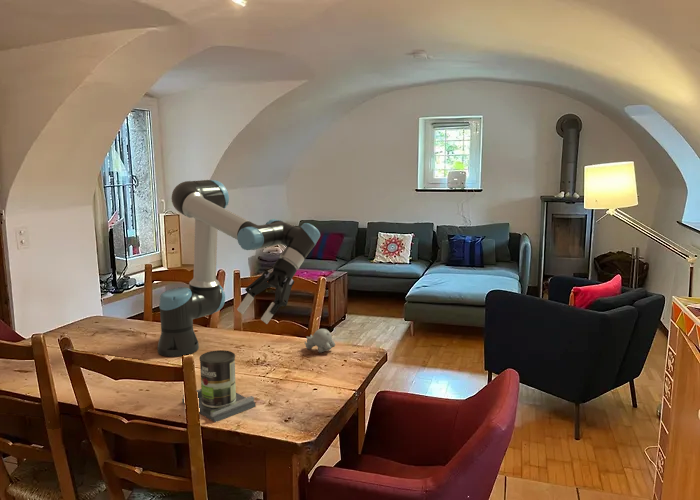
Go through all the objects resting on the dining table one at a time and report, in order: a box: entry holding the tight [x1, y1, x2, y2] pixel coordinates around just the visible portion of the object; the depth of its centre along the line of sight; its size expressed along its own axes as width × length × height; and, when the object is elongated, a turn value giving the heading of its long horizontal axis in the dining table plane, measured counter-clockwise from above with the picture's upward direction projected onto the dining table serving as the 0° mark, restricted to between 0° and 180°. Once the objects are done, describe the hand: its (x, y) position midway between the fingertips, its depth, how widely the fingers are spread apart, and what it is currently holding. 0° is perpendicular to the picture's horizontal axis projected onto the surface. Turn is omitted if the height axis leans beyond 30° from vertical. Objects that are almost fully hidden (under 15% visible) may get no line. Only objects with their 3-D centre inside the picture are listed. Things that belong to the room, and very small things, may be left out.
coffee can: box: [199, 349, 237, 408], centre depth 166 cm, size 10×10×14 cm
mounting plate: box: [181, 388, 257, 423], centre depth 167 cm, size 18×14×3 cm
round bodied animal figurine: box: [304, 328, 336, 354], centre depth 213 cm, size 7×12×8 cm, turn 62°
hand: (251, 316), depth 178 cm, fingers open, 13 cm apart
